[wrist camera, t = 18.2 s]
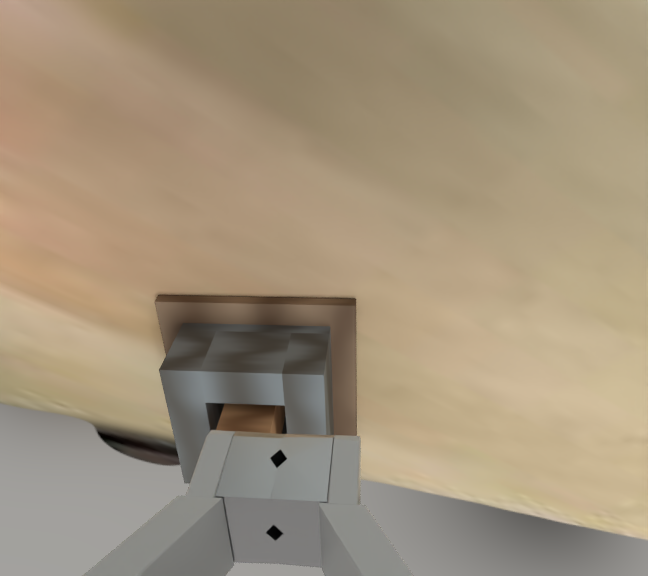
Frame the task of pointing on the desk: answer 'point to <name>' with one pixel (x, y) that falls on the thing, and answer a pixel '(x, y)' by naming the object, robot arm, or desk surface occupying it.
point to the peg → (252, 418)
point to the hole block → (257, 364)
